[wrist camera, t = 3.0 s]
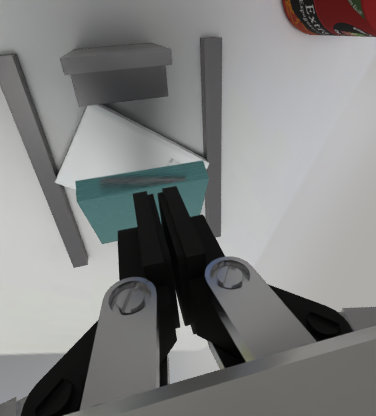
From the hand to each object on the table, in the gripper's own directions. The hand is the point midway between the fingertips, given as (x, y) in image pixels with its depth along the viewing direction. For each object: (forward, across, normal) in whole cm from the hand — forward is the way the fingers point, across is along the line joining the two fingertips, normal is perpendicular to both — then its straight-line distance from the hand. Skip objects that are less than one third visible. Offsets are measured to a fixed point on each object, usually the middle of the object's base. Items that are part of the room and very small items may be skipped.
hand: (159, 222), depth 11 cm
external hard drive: (+18, 0, +5) cm, 18 cm away
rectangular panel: (+7, 0, +7) cm, 10 cm away
